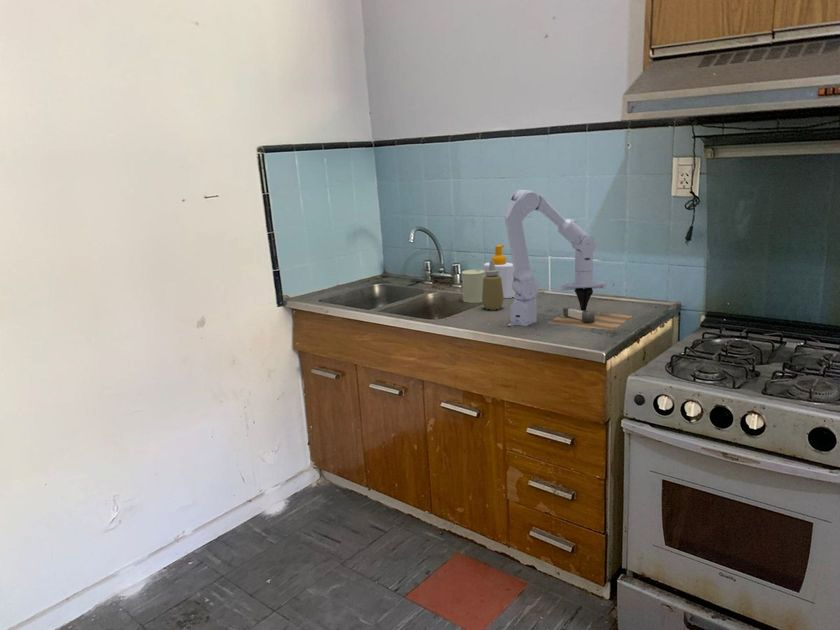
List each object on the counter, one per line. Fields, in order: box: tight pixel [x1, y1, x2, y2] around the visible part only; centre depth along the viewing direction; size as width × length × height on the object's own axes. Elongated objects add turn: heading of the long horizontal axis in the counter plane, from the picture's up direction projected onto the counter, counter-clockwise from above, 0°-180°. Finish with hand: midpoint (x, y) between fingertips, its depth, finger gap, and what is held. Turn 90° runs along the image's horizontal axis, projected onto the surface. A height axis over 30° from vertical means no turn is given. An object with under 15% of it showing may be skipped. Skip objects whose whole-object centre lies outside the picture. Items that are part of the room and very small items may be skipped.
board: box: [547, 311, 633, 331], centre depth 207 cm, size 19×22×1 cm
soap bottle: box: [483, 244, 515, 299], centre depth 250 cm, size 13×8×20 cm, turn 56°
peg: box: [562, 306, 595, 323], centre depth 208 cm, size 13×4×3 cm, turn 30°
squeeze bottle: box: [482, 259, 505, 311], centre depth 231 cm, size 8×8×18 cm
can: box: [461, 269, 485, 304], centre depth 247 cm, size 9×9×12 cm
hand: (583, 310), depth 212 cm, fingers closed
